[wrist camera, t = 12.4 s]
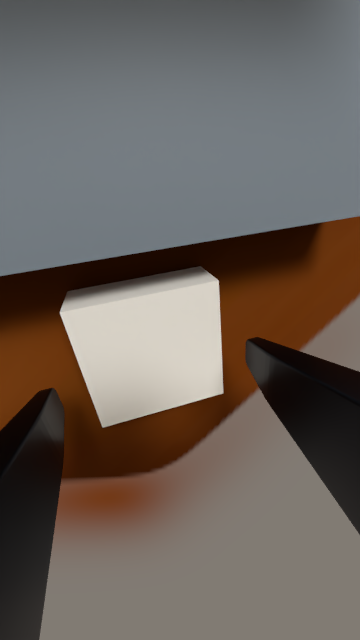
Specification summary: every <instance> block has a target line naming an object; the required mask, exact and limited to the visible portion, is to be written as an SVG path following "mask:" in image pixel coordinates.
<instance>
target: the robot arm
mask: <svg viewBox="0 0 360 640" xmlns="http://www.w3.org/2000/svg"><path fill="white" fill-rule="evenodd" d="M246 363H247V366H248V367H249V369H250V371H251V373H252V375H253V377H254V379H255V380H256V382H257V384H258V386H259V388H260V390H261V391H262V393H263V395H264V397H265V399H266V400H267V402H268V403H269V405H270V406H271V408H272V409H273V410H274V412H275V413H276V415H277V416H278V418H279V419H280V421H281V422H282V423H283V425H284V426H285V428H286V429H287V431H288V432H289V433H290V435H291V437H292V438H293V439H294V441H295V442H296V444H297V445H298V446H299V448H300V449H301V451H302V452H303V454H304V455H305V457H306V458H307V460H308V461H309V462H310V464H311V465H312V467H313V468H314V469H315V471H316V472H317V474H318V475H319V477H320V478H321V480H322V481H323V483H324V484H325V485H326V487H327V488H328V490H329V491H330V493H331V494H332V495H333V497H334V498H335V500H336V501H337V502H338V504H339V506H340V507H341V508H342V510H343V511H344V513H345V514H346V515H347V517H348V518H349V520H350V521H351V523H352V524H353V526H354V527H355V529H356V530H357V531H358V533H359V534H360V372H358V371H355V370H353V369H350V368H347V367H344V366H341V365H338V364H335V363H332V362H329V361H326V360H323V359H320V358H318V357H314V356H312V355H309V354H306V353H303V352H300V351H297V350H294V349H291V348H288V347H285V346H283V345H280V344H277V343H274V342H271V341H268V340H265V339H262V338H259V337H255V338H251V339H248V340H247V341H246ZM63 458H64V408H63V405H62V403H61V401H60V398H59V396H58V394H57V392H56V390H55V389H54V388H49V389H45V390H41V391H39V392H38V393H37V394H36V395H35V396H34V397H33V398H32V399H31V400H30V401H29V402H28V403H27V404H26V405H25V406H24V407H23V408H22V409H21V410H20V411H19V412H18V413H17V414H16V415H15V416H14V417H13V418H12V419H11V420H10V421H9V423H8V424H7V425H6V426H5V427H4V428H3V429H2V430H1V431H0V640H39V637H40V629H41V622H42V615H43V608H44V601H45V593H46V586H47V579H48V571H49V564H50V556H51V549H52V542H53V534H54V528H55V520H56V513H57V506H58V498H59V491H60V484H61V476H62V469H63Z"/></svg>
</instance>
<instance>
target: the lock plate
mask: <svg viewBox="0 0 360 640" xmlns="http://www.w3.org/2000/svg"><path fill="white" fill-rule="evenodd" d="M357 216H360V0H0V276H4V275H10V274H16V273H22V272H28V271H34V270H40V269H46V268H52V267H58V266H64V265H70V264H76V263H82V262H88V261H94V260H100V259H106V258H112V257H118V256H124V255H129V254H135V253H141V252H147V251H153V250H159V249H165V248H171V247H177V246H183V245H189V244H195V243H201V242H207V241H213V240H219V239H225V238H231V237H237V236H243V235H249V234H255V233H261V232H267V231H273V230H279V229H285V228H291V227H297V226H303V225H309V224H315V223H321V222H327V221H333V220H339V219H345V218H351V217H357Z"/></svg>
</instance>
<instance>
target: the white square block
mask: <svg viewBox="0 0 360 640" xmlns="http://www.w3.org/2000/svg"><path fill="white" fill-rule="evenodd" d="M60 315H61V318H62V320H63V323H64V326H65V328H66V331H67V334H68V336H69V339H70V342H71V344H72V347H73V350H74V353H75V355H76V358H77V361H78V363H79V366H80V369H81V371H82V374H83V377H84V379H85V382H86V385H87V387H88V390H89V393H90V395H91V398H92V401H93V403H94V406H95V409H96V412H97V414H98V417H99V420H100V422H101V425H102V428H104V427H107V426H111V425H114V424H118V423H121V422H125V421H128V420H132V419H135V418H139V417H142V416H146V415H149V414H153V413H156V412H160V411H163V410H167V409H170V408H174V407H177V406H181V405H184V404H188V403H191V402H195V401H198V400H202V399H205V398H209V397H212V396H216V395H219V394H223V371H222V347H221V323H220V298H219V280H218V279H216V278H215V277H214V276H212V275H211V274H210V273H209V272H207V271H206V270H205V269H203V268H202V267H201V266H199V267H193V268H188V269H183V270H178V271H172V272H167V273H162V274H156V275H151V276H146V277H141V278H135V279H130V280H125V281H119V282H114V283H109V284H104V285H98V286H93V287H88V288H82V289H77V290H72V291H67V294H66V296H65V299H64V302H63V305H62V307H61V310H60Z"/></svg>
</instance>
